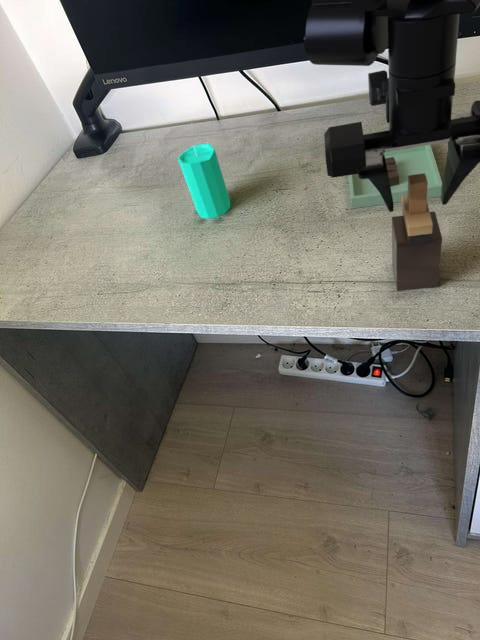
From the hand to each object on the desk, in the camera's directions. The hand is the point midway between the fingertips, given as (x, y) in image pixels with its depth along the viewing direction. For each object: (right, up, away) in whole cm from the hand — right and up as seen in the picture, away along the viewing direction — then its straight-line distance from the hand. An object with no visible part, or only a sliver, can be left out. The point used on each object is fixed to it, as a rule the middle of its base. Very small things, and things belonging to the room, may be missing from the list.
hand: (416, 206), depth 55 cm
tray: (+4, +10, +23) cm, 25 cm away
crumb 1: (+4, +12, +24) cm, 27 cm away
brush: (+1, -2, +2) cm, 3 cm away
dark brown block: (+3, -7, +8) cm, 11 cm away
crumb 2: (+4, +10, +22) cm, 25 cm away
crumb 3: (+4, +9, +21) cm, 23 cm away
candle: (-24, +6, +29) cm, 39 cm away
